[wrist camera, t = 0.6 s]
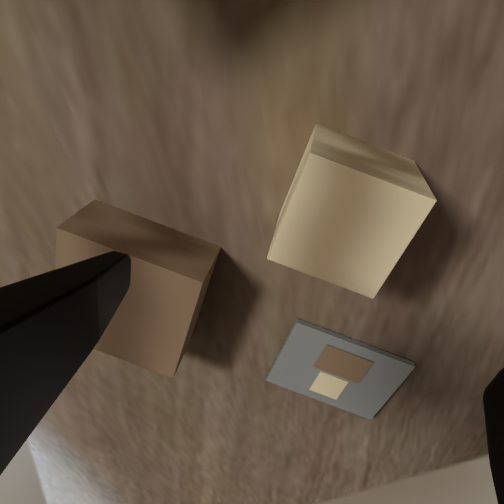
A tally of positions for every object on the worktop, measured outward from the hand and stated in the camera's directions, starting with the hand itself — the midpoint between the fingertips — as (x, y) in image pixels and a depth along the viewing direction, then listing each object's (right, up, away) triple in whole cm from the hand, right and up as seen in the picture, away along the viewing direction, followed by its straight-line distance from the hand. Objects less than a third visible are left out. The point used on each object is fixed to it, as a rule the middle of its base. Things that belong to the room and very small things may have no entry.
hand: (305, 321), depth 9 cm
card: (+4, -6, +17) cm, 19 cm away
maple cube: (+3, +5, +11) cm, 12 cm away
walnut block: (-8, 0, +16) cm, 18 cm away
